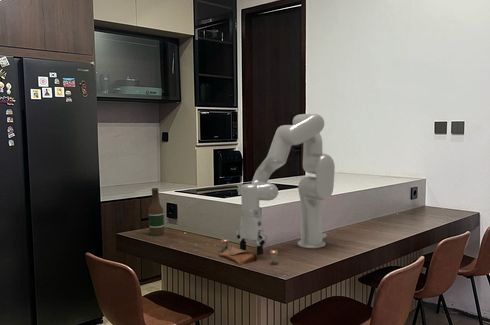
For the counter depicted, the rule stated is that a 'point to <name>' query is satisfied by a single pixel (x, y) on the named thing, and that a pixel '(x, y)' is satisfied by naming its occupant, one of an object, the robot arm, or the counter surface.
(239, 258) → the sunglasses case
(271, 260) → the line post
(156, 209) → the beer bottle
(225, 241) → the line post
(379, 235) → the counter surface
